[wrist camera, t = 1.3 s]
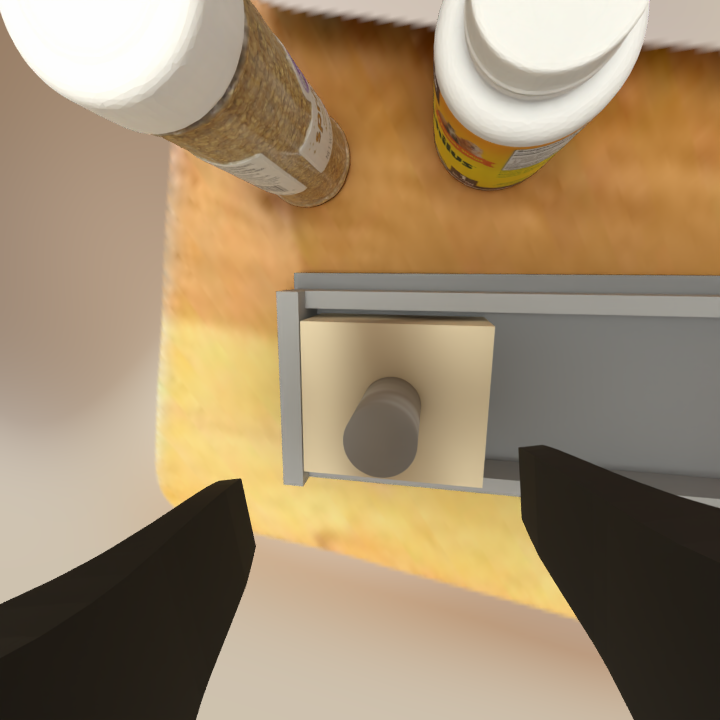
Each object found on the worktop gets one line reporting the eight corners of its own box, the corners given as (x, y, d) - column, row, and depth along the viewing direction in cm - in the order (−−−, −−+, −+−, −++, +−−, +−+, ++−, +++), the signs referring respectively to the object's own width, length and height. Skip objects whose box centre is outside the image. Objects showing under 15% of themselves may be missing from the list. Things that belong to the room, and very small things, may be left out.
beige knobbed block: (483, 316, 19) (515, 344, 12) (473, 452, 21) (496, 550, 13) (322, 312, 21) (261, 335, 13) (324, 439, 22) (270, 523, 15)
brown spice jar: (370, 151, 20) (246, -85, 7) (314, 228, 21) (119, 154, 8) (299, 90, 20) (37, -267, 7) (247, 170, 21) (-58, 2, 8)
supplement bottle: (418, 92, 19) (403, -111, 9) (543, 39, 17) (687, -267, 8) (450, 211, 19) (468, 148, 10) (571, 169, 18) (734, 47, 8)
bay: (830, 276, 17) (944, 277, 13) (772, 504, 20) (855, 560, 16) (300, 272, 21) (271, 273, 18) (305, 461, 24) (280, 498, 20)
